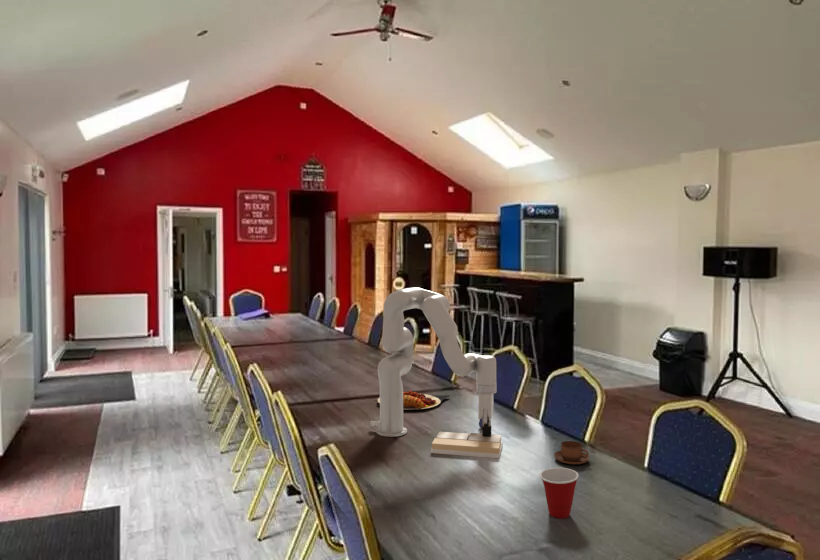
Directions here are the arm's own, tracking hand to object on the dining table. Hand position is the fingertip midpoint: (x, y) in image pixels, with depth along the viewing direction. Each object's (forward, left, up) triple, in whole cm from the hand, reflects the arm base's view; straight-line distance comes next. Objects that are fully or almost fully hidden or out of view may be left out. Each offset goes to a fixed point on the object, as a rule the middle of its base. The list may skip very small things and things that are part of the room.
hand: (486, 435), depth 237 cm
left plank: (-13, -2, -2) cm, 13 cm away
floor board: (-7, -5, -4) cm, 9 cm away
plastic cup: (+26, -55, -4) cm, 61 cm away
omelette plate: (-43, +56, -5) cm, 71 cm away
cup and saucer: (+31, -9, -5) cm, 33 cm away
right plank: (-1, -2, -2) cm, 3 cm away
